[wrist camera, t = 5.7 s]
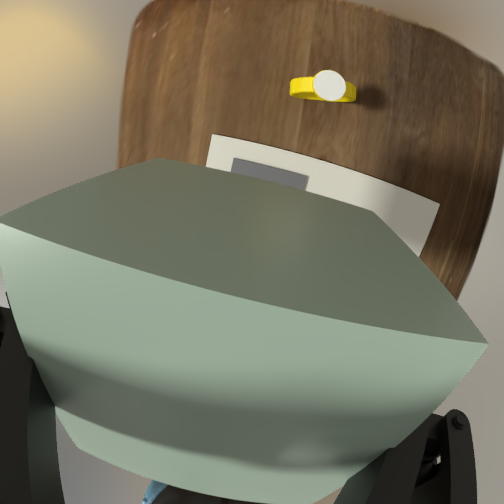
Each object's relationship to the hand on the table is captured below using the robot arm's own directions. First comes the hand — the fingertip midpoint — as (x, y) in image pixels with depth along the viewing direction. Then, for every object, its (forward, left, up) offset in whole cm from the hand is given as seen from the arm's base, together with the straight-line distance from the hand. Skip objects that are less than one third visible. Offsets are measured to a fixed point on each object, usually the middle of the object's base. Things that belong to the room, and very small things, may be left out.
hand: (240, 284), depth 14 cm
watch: (+12, -3, -18) cm, 22 cm away
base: (0, -7, -18) cm, 19 cm away
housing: (0, 0, 0) cm, 0 cm away
